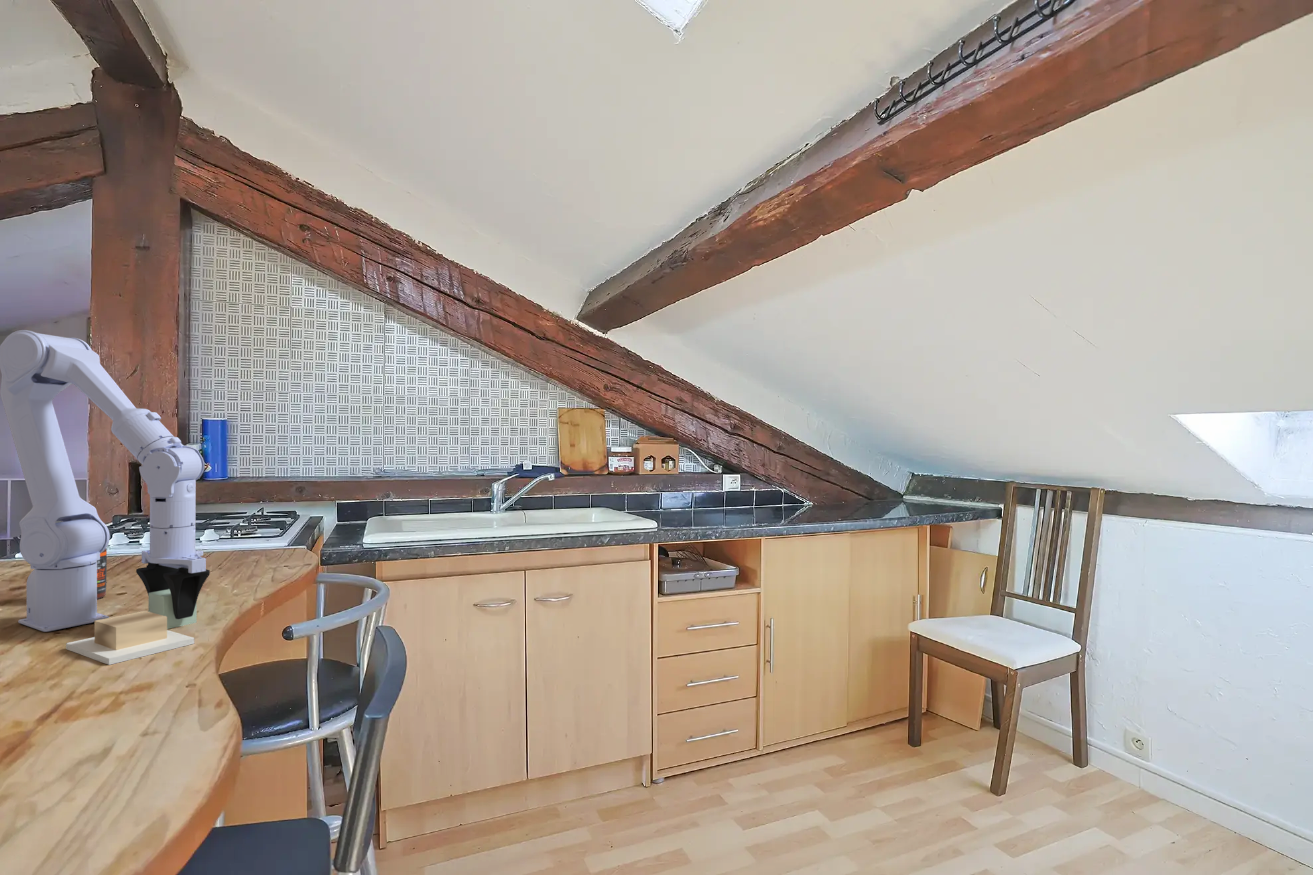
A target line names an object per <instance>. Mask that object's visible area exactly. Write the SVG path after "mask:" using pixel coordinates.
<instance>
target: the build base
mask: <svg viewBox="0 0 1313 875" xmlns="http://www.w3.org/2000/svg"><path fill="white" fill-rule="evenodd" d="M194 644H195V637H193V636H190V635H186V634H183V633H179V632H176V631H172V630H170V629H167V617H166V616H163V615H159V614H155V613H152V612H149V610H148V611H147V610H142V611H137V612H132V613H127V614H122V615H116V616H112V617H109V618H106V619H101V620H96V621H95V622H94V636H93V637H89V638H84V639H80V640H75V641H70V642H67V643H66V644H65V649H66V650H68V651H70V652H73V653H75V654H78V655H81V656H84V657H86V658H89V659H92V660H94V661H97V662H100V663H103V664H106V665H109V666H110V665H113V664H118V663H121V662H126V661H130V660H134V659H139V658H142V657H146V656H150V655H153V654H158V653H163V652H166V651H170V650H174V649H179V648H182V647H186V646H191V645H194Z"/></svg>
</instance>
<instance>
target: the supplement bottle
mask: <svg viewBox="0 0 1313 875" xmlns="http://www.w3.org/2000/svg"><path fill="white" fill-rule="evenodd" d="M107 552H108V550H107V548H106V549H105V550H104V551H103V552H102V553H100V560H97V600H100V599H103V598H104V597H105V596H106V595H107V583H108V582H107V574H108V573H107V571H108V570H107V563H108V562H107V561H108V556H107Z"/></svg>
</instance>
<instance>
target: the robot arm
mask: <svg viewBox="0 0 1313 875" xmlns="http://www.w3.org/2000/svg"><path fill="white" fill-rule="evenodd" d="M100 358H101V357H100V355H99V354H98V353H97V352H95V351H94V350H93V349H92V348H91V347H90V345H89V344H88V343H87V342H86V341H84V340H82V338H81V339H80V338H77V337H65V336H58V335H53V334H52V335H51V334H46V333H45V334H44V333H39V332H35V331H33V330H27V329H22V330H21V329H20V330H16V331H12V332H11V333H10V334H8V335H7V336H6V337H5V338H4V340H3V341H2V343H1V344H0V373H1V381H0V399H1V401H2V405H3V409H4V412H5V416H6V419H7V423H8V426H9V430H10V433H11V436H12V440H13V443H14V446H15V450H16V454H17V457H18V461H19V465H20V467H21V470H22V474H23V478H24V480H25V485H26V488H27V491H28V494H29V495H28V496H29V499H30V502H31V505H32V507H31V509H30V510H29V511H28V512H27V513H26V514H25V516H23V517H22V518H21V519H20V521H19V522H18V524H19V528H20V533H21V534H20V535H21V536H20V542H19V552H20V555H21V556H22V558H23V560H24V561H26V562H27V564H30V569H31V570H32V571H31V572H30V573H29V575H28V577H27V580H26V618H21V619H19V620H18V622H17V623H18V624H21V625H24V626H27V627H30V628H32V629H36V630H38V631H41V632H44V633H45V632H53V631H58V630H62V629H66V628H68V629H69V628H71V627H77V626H78V627H79V626H81V625H82V626H83V625H86V624H92V623H95V621H96V620H101V619H106V618H110V616H109V615H105V614H103V613H99V612H98V599H97V560H100V553H102V552H103V551H104V550H105V549H107V548H108V545H109V543H110V537H111V536H110V534H111V533H110V530H109V528H108V526H107V525H106V523H105V522H104V521H102V519H101V518H100V516H99V514H98V511H97V508H96V507H95V506H94V505H92V504H90V503H89V502H88V501H86V500H84V499H82V498H81V496H80V493H79V491H78V490H79V489H78V486H77V483H76V480H75V475H74V473H73V470H72V466H71V463H70V459H69V455H68V452H67V448H66V445H65V441H64V438H63V436H62V432H61V431H62V430H61V428H60V425H59V424H60V423H59V421H58V417H57V415H56V410H55V408H54V404H53V400H54V399H55V398H56V397H57V395H58V394H59V393H61V392H62V391H64V390H65V389H67V388H68V387H70V386H71V385H74V386H75V387H77V389H78V390H80V392H82V393H83V394H84V396H86V397H87V398H88V400H90V401H91V402H92V403H93V404H94V405H95V406H96V407H98V408H99V409H100V410H101V411H102V412H103V413H104V414H105V415H106V416H108V418H110V420H111V421H112V422H111V423H112V424H111V430H110V431H111V433H112V434H113V435H114V436H115V437H116V439H118V440H119V442H120V443H121V444H122V445H123V446H124V447H125V448H126V450H128V451H129V453H130V454H131V455H132V456H133V457H134V458H135V459H136V460H137V461H138V462H139V463H140V464H141V465H140V466H139V467H138V469H139V474H140V477H141V478H142V480H143V481H144V482H145V484H146V488H147V494H148V495H149V549H147V550H141V564H147V565H146V566H144V567H139V568H136V570H135V572H136V575H138V577H139V578H140V580H141V581H142V583H143V585H144V587H145V589H146V592H147V596H148V597H149V593H151V592H157V591H162V590H168V589H170V592H171V596H172V603H173V611H174V615H175V618H176V619H182V618H187V617H191V616H192V615H193V612H194V609H195V606H196V602H197V601H198V598H199V596H200V592H201V590H202V588H203V586H204V584H205V582H206V581H207V579H208V578H209V576H210V574H211V573H210V572H211V571H210V569H207V568H206V567H207V562H206V561H207V558H205V557H202V556H204V551H203V550H201V549H200V550H199V549H198V550H197V549H196V523H197V522H196V521H197V520H196V518H197V517H196V514H197V512H196V508H197V507H196V500H197V499H196V495H197V494H196V492H197V491H196V489H197V487H196V484H197V483H196V481H197V480H199V479H200V477H201V476H202V475H203V473H204V470H205V461H204V458H203V456H202V455H201V453H200V451H199V449H198V448H196V447H194V446H190V445H184V444H183V443H182V440H181V439H180V438H179V437H177V436H174V435H173V434H172V433H171V432H170V430H169V429H168V428H166V426H165V425H164V424H163V423H162V422H161V419H162V417H161V416H160V415H159V414H158V412H157V411H156V412H154V411H153V412H152V411H151V410H149V409H147V408H137V407H136V406H135V405H134V403H132V401H131V400H130V399H129V397H128V396H127V395H126V394H125V393H124V391H123V390H122V389H121V388H120V386H118V384H117V383H116V382H115V380H114V379H113V377H112V376H111V375H110V374H109V373H108V372H107V370H106V369H105V368H104V367H103V365H102V364H101V360H100Z"/></svg>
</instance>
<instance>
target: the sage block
mask: <svg viewBox="0 0 1313 875" xmlns="http://www.w3.org/2000/svg"><path fill="white" fill-rule="evenodd" d="M197 609H198V608H197V602H196V606H195V609H194V612H193V615H192V616H191V617H187V618H182V619H176V618H175V615H174V611H173V603H172V596H171V592H170V589H168V590H162V591H157V592H151V593H149V596H148V612H152V613H155V614H159V615H163V616H166V617H167V630H170V629H174V628H178V627H183V626H187V625H192V624H196V623H197V622H198V621H197V615H198V613H197V611H198V610H197ZM197 624H198V623H197Z"/></svg>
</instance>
